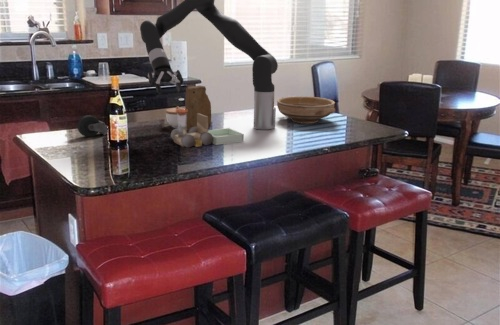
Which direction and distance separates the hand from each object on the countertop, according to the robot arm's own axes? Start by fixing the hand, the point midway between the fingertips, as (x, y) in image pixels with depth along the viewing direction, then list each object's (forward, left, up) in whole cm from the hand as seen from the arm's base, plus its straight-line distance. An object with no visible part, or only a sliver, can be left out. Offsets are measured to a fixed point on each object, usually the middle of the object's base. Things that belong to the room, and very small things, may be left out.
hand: (170, 92), depth 210 cm
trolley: (-4, +11, -19) cm, 23 cm away
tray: (-17, +13, -19) cm, 29 cm away
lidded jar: (-11, -20, -20) cm, 30 cm away
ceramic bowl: (-72, -3, -20) cm, 75 cm away
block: (-16, -8, -20) cm, 26 cm away
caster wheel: (+27, -19, -20) cm, 38 cm away
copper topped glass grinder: (0, +11, -16) cm, 20 cm away
